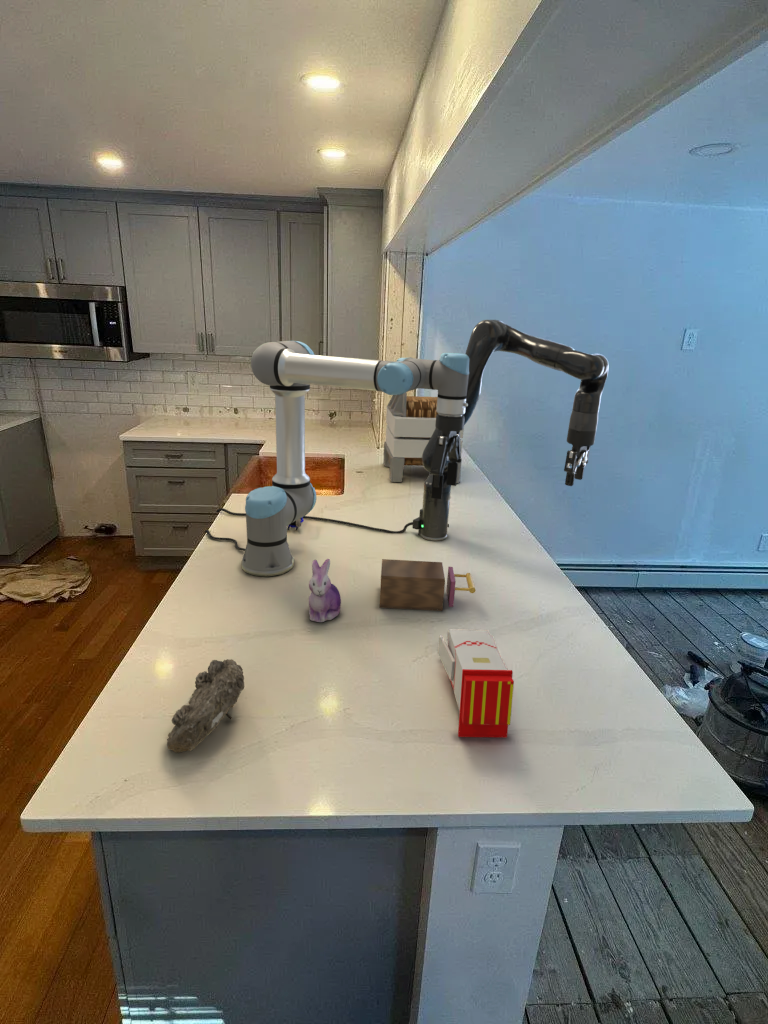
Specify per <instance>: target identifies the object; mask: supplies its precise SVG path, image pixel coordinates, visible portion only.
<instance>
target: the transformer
mask: <svg viewBox="0 0 768 1024" xmlns="http://www.w3.org/2000/svg"><path fill="white" fill-rule="evenodd" d="M407 394H408V392H405V393H403V394H401V395H391V398H390V400H389V402H388V404H387V405H386V413H385V414H386V415H385V423H386V428H385V438H384V442H383V466H384V467H388V468H389V475H388V476H389V477H388V478H389V480H390V482H391V483H402V482H403V475H404V469H405V466H406V467H407V466H411V467H412V466H413V467H415V466H416V467H417V466H418V467H424V466H423V464H422V454H423V451H424V449H425V447H426V445H427V444H428V442H429V440H430V438H431V436H432V434H433V432H434V430H435V428H436V427H435V424H436V415H437V414H438V413H437V412H436V408H437V397H438V396H415V395H414V396H413V395H412V396H411V395H407ZM464 429H465V428H464ZM464 429H463V430H461V431H460V449H461V454H462V453H463V442H464V441H463V440H462V439H463V438H464V431H465V430H464ZM460 459H462V457H461V458H460ZM462 461H463V460H462ZM462 461H461V463H458V462H457V463H458V471H457V482H456V484H459V483H461V472H462Z"/></svg>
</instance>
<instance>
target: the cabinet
mask: <svg viewBox="0 0 768 1024" xmlns="http://www.w3.org/2000/svg"><path fill="white" fill-rule="evenodd" d="M444 585H445V586H446V576H445V571H444V564H443V562H442V561H428V560H426V561H425V560H410V559H409V560H405V559H390V558H389V559H388V558H387V559H385V558H382V559H381V571H380V587H379V588H380V589H379V591H380V592H379V609H395V610H397V609H398V610H399V609H400V610H414V611H415V610H416V611H437V612H443V607H444V599H443V596H444V597H445V588H444Z"/></svg>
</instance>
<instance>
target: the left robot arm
mask: <svg viewBox="0 0 768 1024" xmlns="http://www.w3.org/2000/svg"><path fill="white" fill-rule="evenodd" d="M250 368H251V371H252V374H253V376H254V377H255V378H256V379H257V380H258V381H259V383H262V384H263V385H265V386H269V390H270V391H271V392H272V393H273V394H274V401H275V444H276V446H275V447H276V448H275V449H276V473H275V474H274V475H273V476H272V478H271V485H269V486H268V485H267V486H263V487H257V488H255V489H252V490H251V491H249V492H248V493H247V495H246V498H245V505H244V511H245V513H246V516H245V522H246V523H245V524H246V525H245V526H246V545H245V547H240V546H239V545H238V544H239V543H238V541H237V540H236V539H234V538H231V537H217V536H213V534H211V531H210V530H209V529H205V530H204V534H207V535H208V537H209V538H210V539H212V540H216V541H230V542H233V543H234V547H235V549H236V550H238V551H241V552H243V554H242V559H241V569H242V570H243V572H245V573H246V574H249V575H252V576H254V577H255V576H256V577H274V576H275V577H276V576H280V575H283V574H286V573H287V572H289V571H291V570H292V569H293V568H294V561H295V557H294V556H293V554H292V551H291V549H290V545H289V542H288V530H287V528H288V526H289V524H291V523H293V522H294V521H296V520H298V519H299V518H302V517H304V516H308V514H309V513H310V512H312V510H313V509H314V507H315V505H316V503H317V491H316V488H315V487H313V484H312V483H311V477H310V476H309V475H308V474H307V473H306V394H307V393H308V392H309V391H310V390H311V385H312V386H314V385H315V386H321V387H322V386H324V387H331V388H332V387H333V388H343V389H353V390H354V389H355V390H361V391H362V390H363V391H373V392H381V393H385V394H386V395H389V396H393V395H401V394H403V393H405V392H406V393H408V392H411V391H414V390H418V389H420V390H421V389H424V390H434V391H437V396H436V397H437V408H436V412H437V413H438V414H437V415H436V424H435V427H436V428H437V429H439V430H441V431H442V433H441V436H437V441H436V448H435V452H434V457H433V462H432V467H431V471H430V472H429V474H433V481H432V495H431V498H436V499H442V491H443V479H444V475H442V474H443V471H444V467H445V464H446V460H447V457H448V456H449V460H450V461H451V462H448V471H447V483H446V485H452V486H453V487H456V486H457V483H456V482H457V471H458V463H461V464H462V462H461V461H463V460H462V459H460V458H462V453H461V449H460V439H461V438H460V431H461V430H463V429H465V425H464V420H465V417H464V416H463V414H464V413H465V407H467V406H468V404H467V403H466V395H467V386H468V377H469V357H468V356H467V355H466V354H465V353H461V352H460V353H459V352H443V353H441V354H440V356H439V359H425V358H415V357H399V358H397V359H396V360H395V361H394V360H380V359H370V358H369V359H368V358H357V357H346V356H345V357H343V356H335V355H334V356H333V355H323V354H321V355H319V354H315V353H314V351H313V350H312V349H311V347H310V346H309V345H307V344H306V343H305V342H303V341H298V340H282V341H268V342H264V343H261V344H260V345H259V346H258V347H256V349H254V351H253V353H252V355H251V358H250ZM457 462H458V463H457ZM437 469H438V470H437ZM452 486H451V487H452Z"/></svg>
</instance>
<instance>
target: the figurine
mask: <svg viewBox="0 0 768 1024" xmlns="http://www.w3.org/2000/svg"><path fill="white" fill-rule="evenodd" d="M330 566H331V558H326V559H325V560H324V562H323V563H322V565H321V566H320V564H319V562H318V561H317V559H313V560H312V562H311V570H312V575H311V577H310V579H309V581H308V588H309V591H310V594H309V596H308V607H309V610H308V615H309V620H310V621H311V622H317V623H323V622H326V621H331V620H333V619H335V618H336V617H338V616H339V615H340V612H341V606H342V597H341V592H340V591H339V589H338V587H337V586H336V585H335V584H333V583H332V581H331V578H330V577H329V575H328V574H329V570H330Z"/></svg>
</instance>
